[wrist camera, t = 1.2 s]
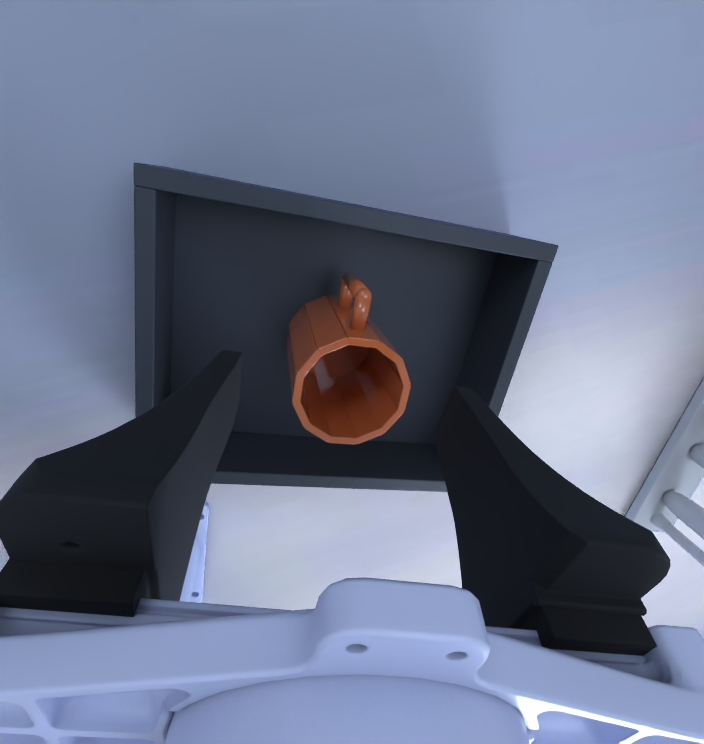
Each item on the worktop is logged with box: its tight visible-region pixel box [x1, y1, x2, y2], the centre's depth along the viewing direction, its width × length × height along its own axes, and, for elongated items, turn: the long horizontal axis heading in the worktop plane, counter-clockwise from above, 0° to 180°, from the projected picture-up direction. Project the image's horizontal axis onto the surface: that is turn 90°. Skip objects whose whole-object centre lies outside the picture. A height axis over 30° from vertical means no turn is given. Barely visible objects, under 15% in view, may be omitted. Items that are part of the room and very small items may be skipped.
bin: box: [134, 163, 558, 492], centre depth 23 cm, size 15×19×4 cm
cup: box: [286, 272, 411, 444], centre depth 21 cm, size 7×5×7 cm
